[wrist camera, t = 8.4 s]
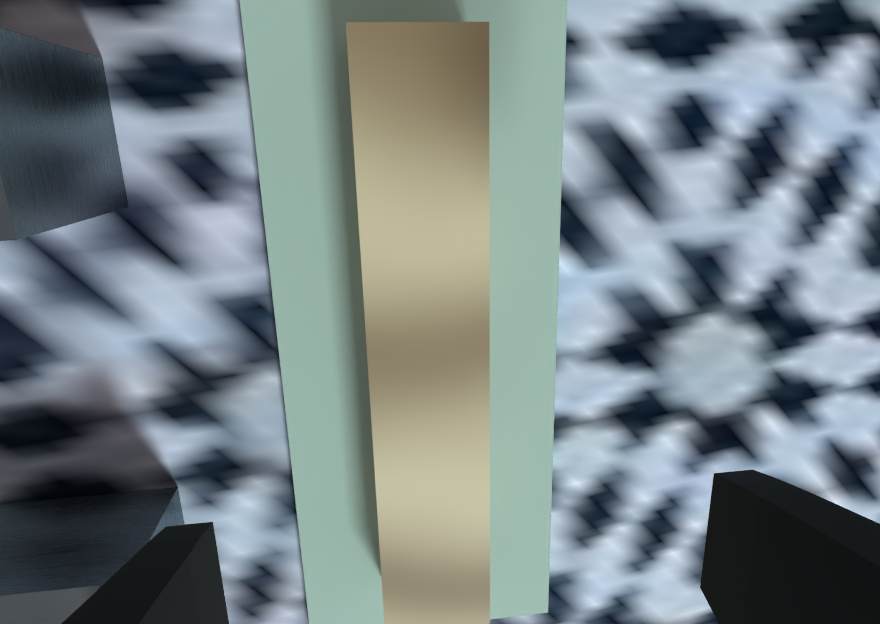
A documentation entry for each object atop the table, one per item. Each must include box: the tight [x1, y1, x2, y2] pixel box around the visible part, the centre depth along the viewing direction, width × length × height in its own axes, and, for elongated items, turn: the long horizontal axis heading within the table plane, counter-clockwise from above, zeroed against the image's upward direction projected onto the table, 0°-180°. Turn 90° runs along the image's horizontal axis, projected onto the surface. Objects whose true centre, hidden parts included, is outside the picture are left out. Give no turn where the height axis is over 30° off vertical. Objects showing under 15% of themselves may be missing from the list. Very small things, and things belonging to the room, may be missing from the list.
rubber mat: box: [240, 0, 567, 624], centre depth 17 cm, size 20×8×1 cm, turn 2°
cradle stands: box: [0, 28, 184, 624], centre depth 14 cm, size 16×5×5 cm, turn 2°
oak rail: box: [346, 22, 490, 624], centre depth 16 cm, size 16×3×2 cm, turn 2°
